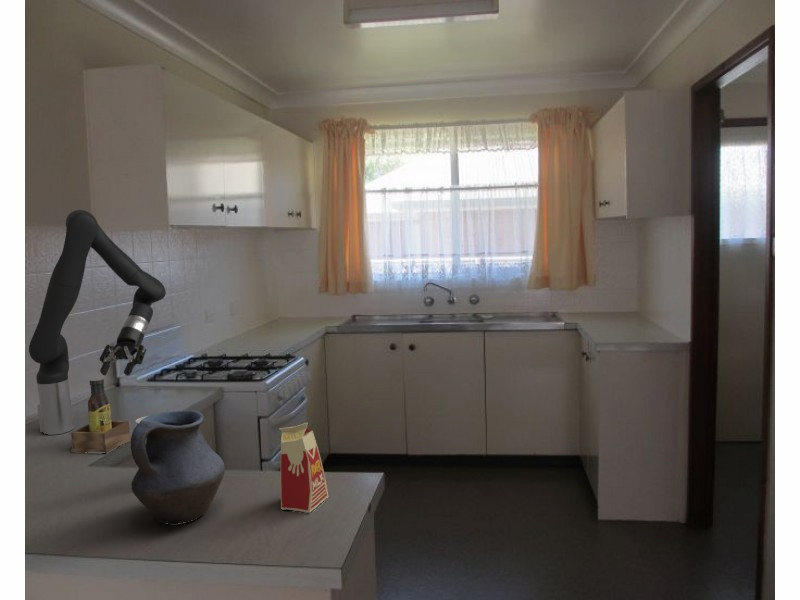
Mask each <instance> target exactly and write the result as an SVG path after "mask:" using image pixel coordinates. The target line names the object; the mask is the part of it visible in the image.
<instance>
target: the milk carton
mask: <svg viewBox="0 0 800 600" xmlns="http://www.w3.org/2000/svg"><path fill="white" fill-rule="evenodd" d="M278 430H280V431H281V439H280V468H279V469H280V509H294V510H295V509H296V510H300V511H306V512H311V511H312V510H313V509H315V508H316V507H317V506H318V505H319V504H320V503H322V502H323V501H324V500H325V499H326V498H328V497H329V492H328V486H327V481H326V476H325V471H324V467H323V463H322V458H321V454H320V450H319V447H318V444H317V441H316V438H315V435H314V431H313V429H310V428H309V427H308V422H304V423H302V424H298V425H296V426H289V427H281V428H280V427H279V428H278ZM329 498H330V497H329ZM329 498H328V499H329ZM324 502H325V501H324ZM324 502H323V503H324ZM323 503H322V504H323ZM315 510H316V509H315Z"/></svg>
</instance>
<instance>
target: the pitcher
mask: <svg viewBox="0 0 800 600" xmlns="http://www.w3.org/2000/svg"><path fill="white" fill-rule="evenodd" d="M147 416H148V417H146V418H144V419H142V420H141V421H140V423H139V424H137V423H136V424H137V425H136V426H135V427H134V429H133V430H132V435H131V436H132V437H131V441H130V451H131V452H130V453H131V456H132V459H133V460H134V461H133V462H134V463H135V464H136V466H137V467H138V470H137V471H136V473H135V474H134V476H133V478H132V481H131V491H132V493H133V494H134V496H135V497H136V498H137V499H138V501H139V503H141V504H142V505H143V506H144V507H145V508H146V509H147V511H148V512H149V513H150V514H151V515H152V516H153V518H154V520H156V521H157V522H159V523H161V522H162V524H163V523H168V524H178V523H183V522H188V521H191V520H194V519H196V518H198V517H200V516H201V515H203V514H204V513H205V514H206V512H207V511H208V509H209V507H210V506H211V503H212V502H213V500H214V499H215V496H216V494H217V491H218V489H220V488H219V487H220V486H221V483H222V481H223V480H224V476H225V472H226V467H225V463H224V460H223V459H222V457H221V456H220V455H219V454H217V453H216V452H215V451H214V450H213V448H211V447H210V445H209V444H208V442H207V441H206V438H205V436H204V435H203V434H202V432H201V430H200V425H202V423H203V422H204V415H203V413H202V412H200V411H198V410H191V409H190V410H188V409H187V410H185V409H184V410H173V411H167V412H158V413H153V414H150V415H147ZM146 438H147V439H146ZM145 441H146V445H145ZM205 514H204V515H205ZM204 515H203V516H204ZM201 517H202V516H201ZM201 517H200V518H201ZM198 519H199V518H198ZM196 520H197V519H196ZM168 524H167V525H168Z"/></svg>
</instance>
